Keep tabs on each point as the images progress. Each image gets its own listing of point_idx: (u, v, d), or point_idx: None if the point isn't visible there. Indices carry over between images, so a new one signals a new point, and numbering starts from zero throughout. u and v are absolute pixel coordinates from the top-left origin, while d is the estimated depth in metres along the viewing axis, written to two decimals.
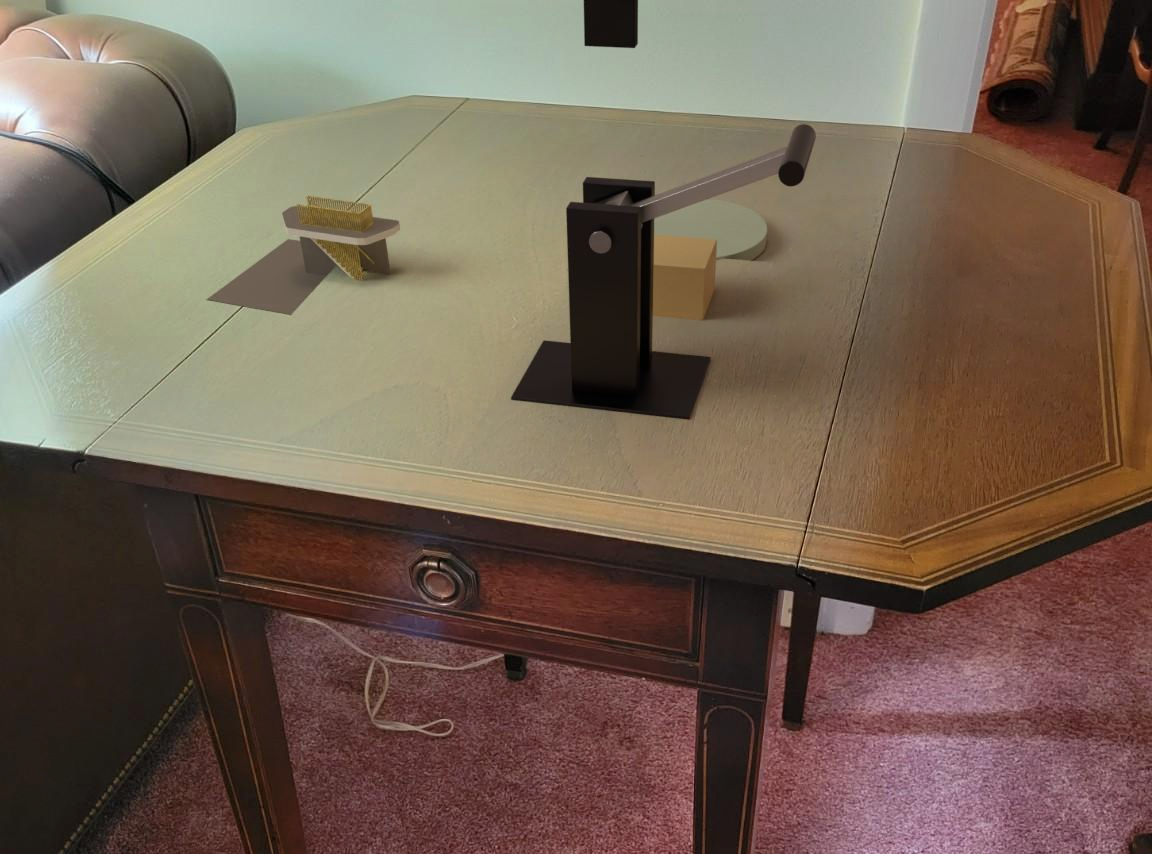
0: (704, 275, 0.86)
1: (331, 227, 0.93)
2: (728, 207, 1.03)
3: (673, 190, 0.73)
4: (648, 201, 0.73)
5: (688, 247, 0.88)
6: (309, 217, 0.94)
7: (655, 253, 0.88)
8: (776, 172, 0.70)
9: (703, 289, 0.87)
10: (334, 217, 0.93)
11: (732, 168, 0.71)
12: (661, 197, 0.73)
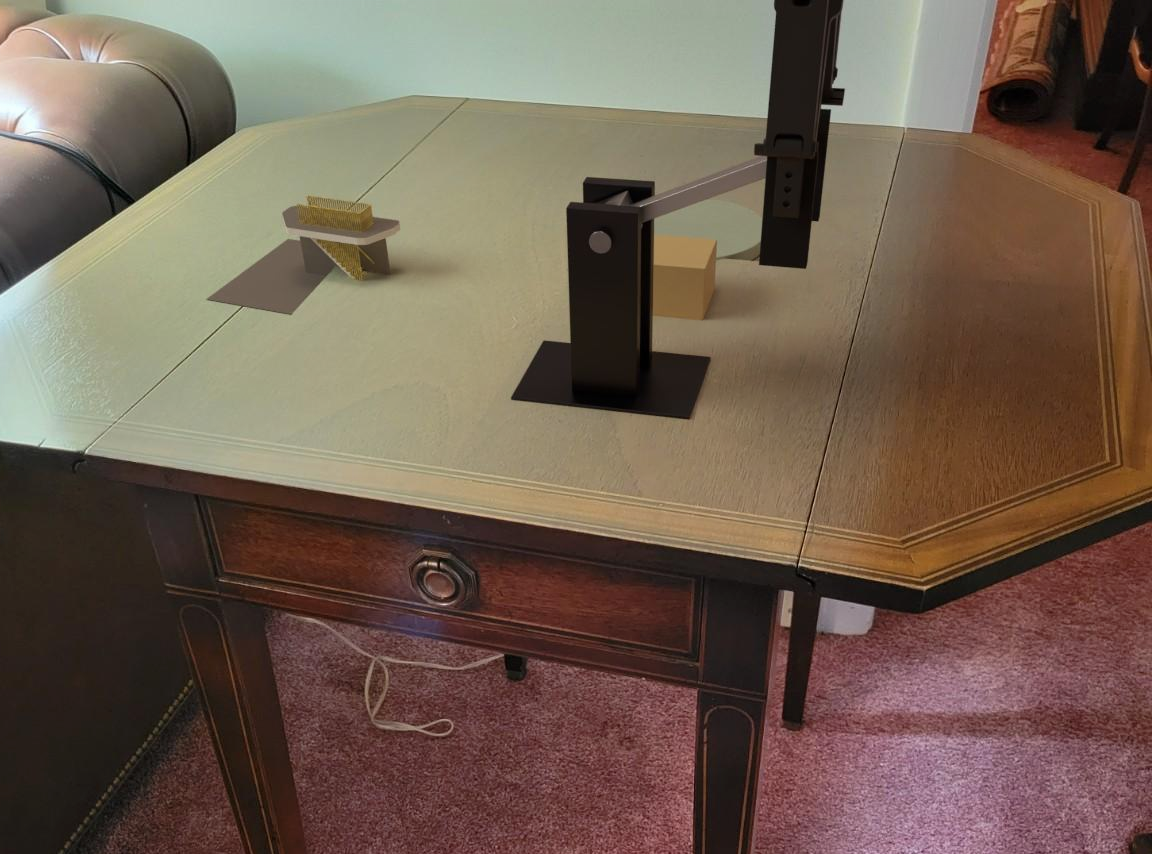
0: (704, 275, 0.86)
1: (331, 227, 0.93)
2: (728, 207, 1.03)
3: (673, 190, 0.73)
4: (648, 201, 0.73)
5: (688, 247, 0.88)
6: (309, 217, 0.94)
7: (655, 253, 0.88)
8: None
9: (703, 289, 0.87)
10: (334, 217, 0.93)
11: (732, 168, 0.71)
12: (661, 197, 0.73)
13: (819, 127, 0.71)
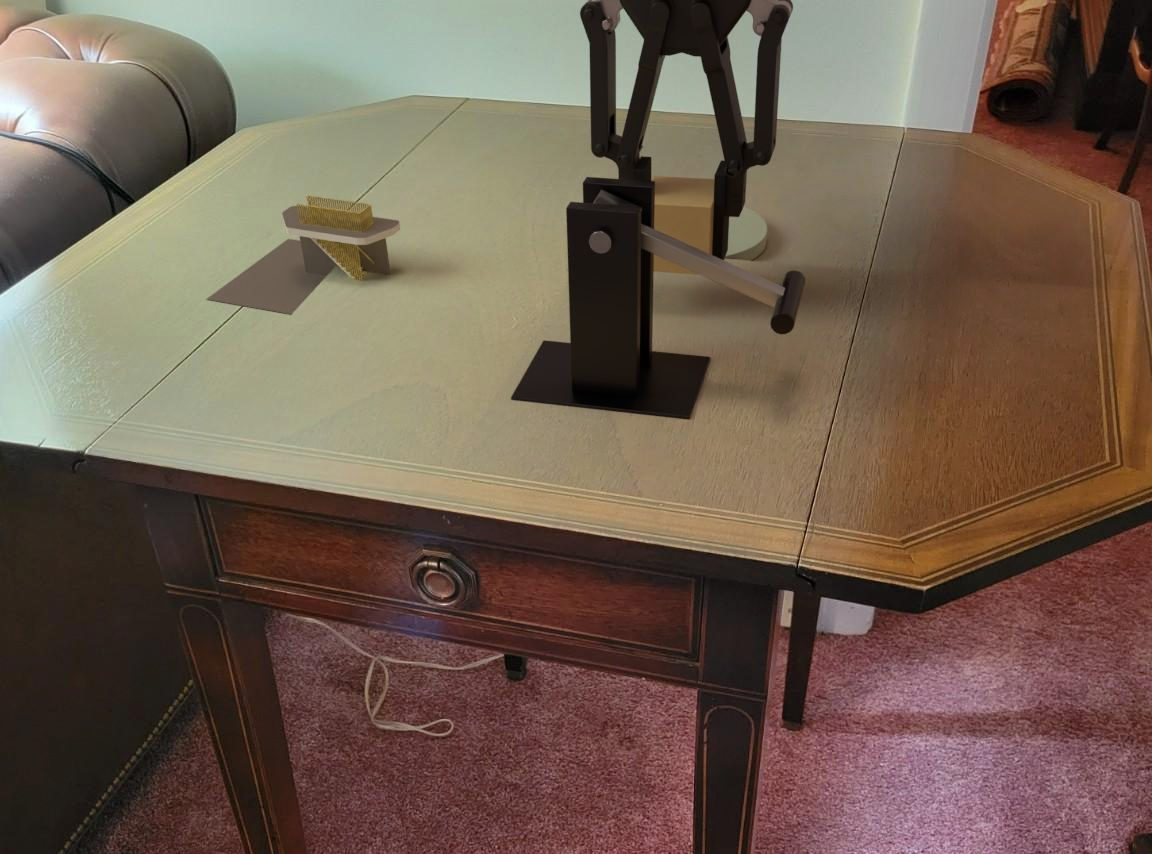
0: (710, 214, 0.83)
1: (331, 227, 0.93)
2: None
3: (679, 243, 0.75)
4: (655, 235, 0.75)
5: (693, 187, 0.85)
6: (309, 217, 0.94)
7: (659, 193, 0.85)
8: (764, 302, 0.75)
9: (709, 229, 0.84)
10: (334, 217, 0.93)
11: (735, 268, 0.75)
12: (668, 242, 0.75)
13: None
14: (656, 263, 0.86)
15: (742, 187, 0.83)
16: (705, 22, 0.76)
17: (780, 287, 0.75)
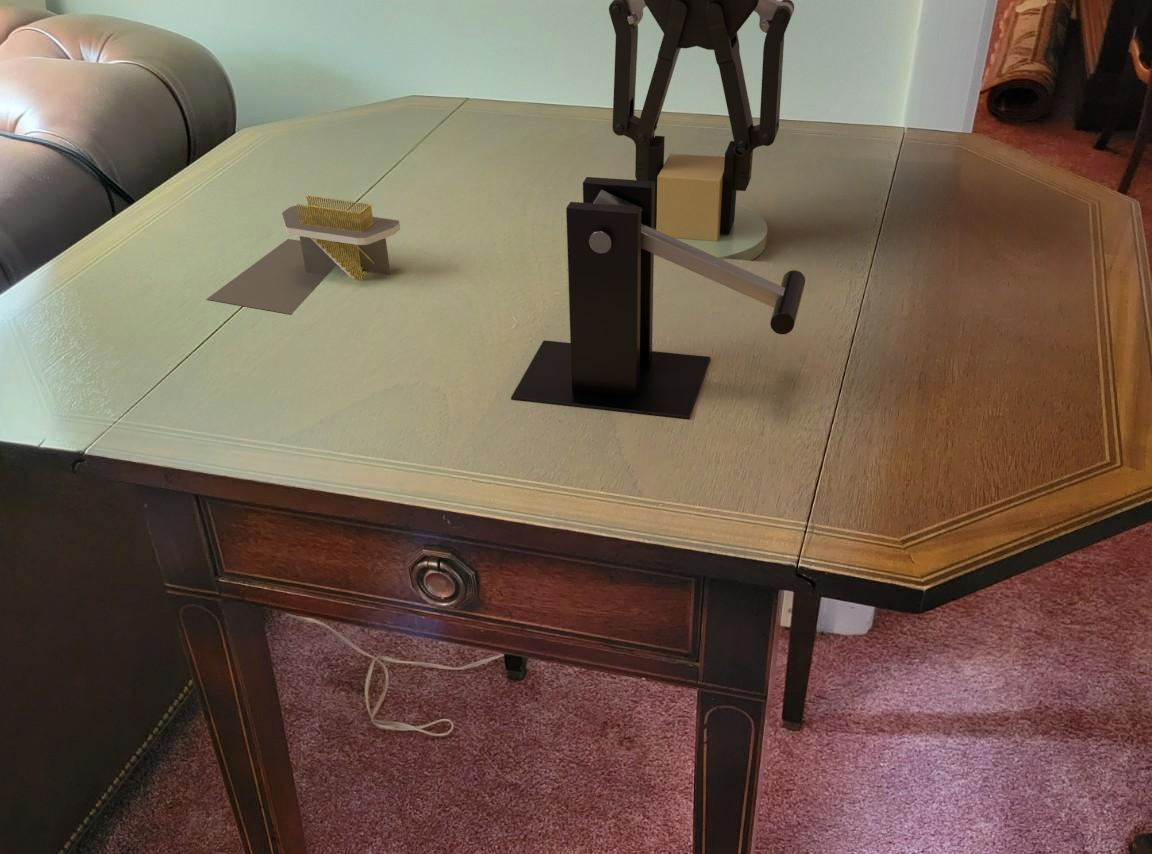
0: (719, 187, 0.95)
1: (331, 227, 0.93)
2: None
3: (679, 243, 0.75)
4: (655, 235, 0.75)
5: (704, 163, 0.97)
6: (309, 217, 0.94)
7: (674, 168, 0.97)
8: (764, 302, 0.75)
9: (718, 200, 0.96)
10: (334, 217, 0.93)
11: (735, 268, 0.75)
12: (668, 242, 0.75)
13: (725, 161, 0.95)
14: (671, 230, 0.98)
15: (749, 164, 0.95)
16: (718, 20, 0.88)
17: (780, 287, 0.75)
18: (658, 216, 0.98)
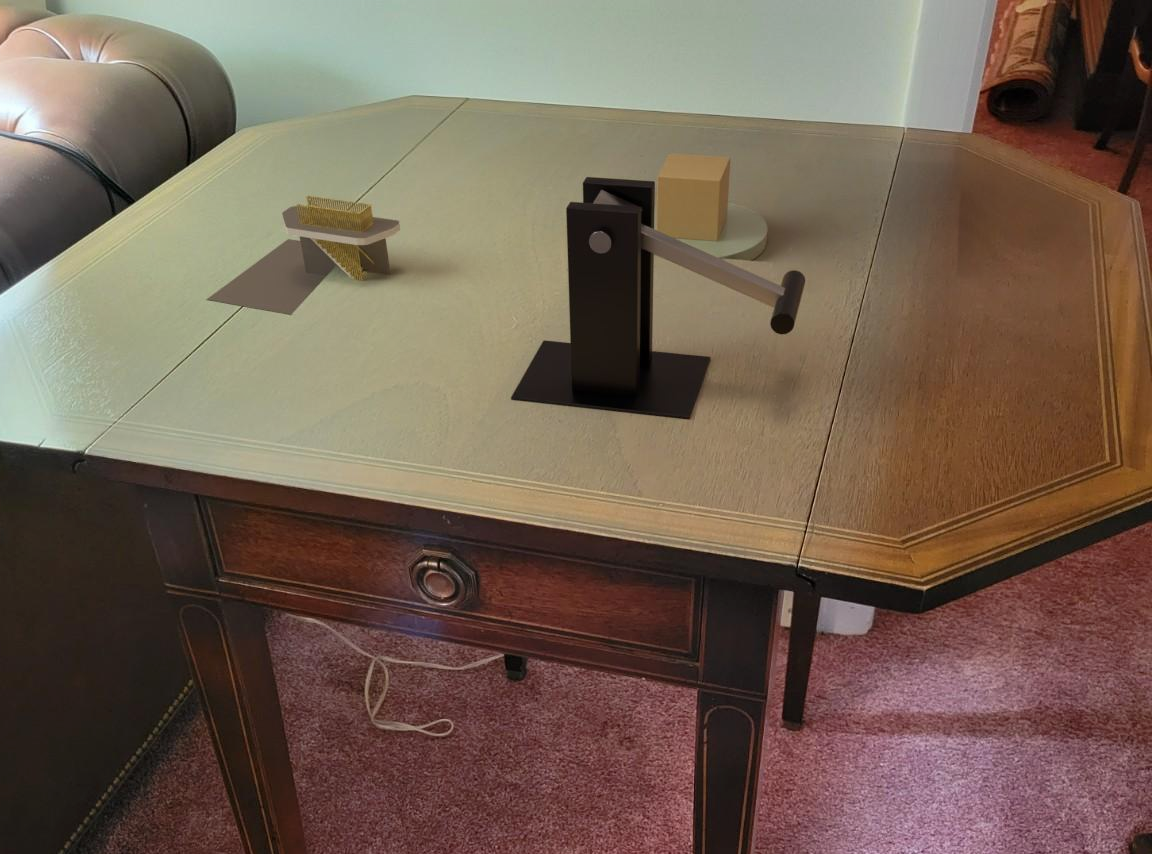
0: (719, 187, 0.95)
1: (331, 227, 0.93)
2: (728, 207, 1.03)
3: (679, 243, 0.75)
4: (655, 235, 0.75)
5: (704, 163, 0.97)
6: (309, 217, 0.94)
7: (674, 168, 0.97)
8: (764, 302, 0.75)
9: (718, 200, 0.96)
10: (334, 217, 0.93)
11: (735, 268, 0.75)
12: (668, 242, 0.75)
13: None
14: (671, 230, 0.98)
15: None
16: None
17: (780, 287, 0.75)
18: (658, 216, 0.98)
